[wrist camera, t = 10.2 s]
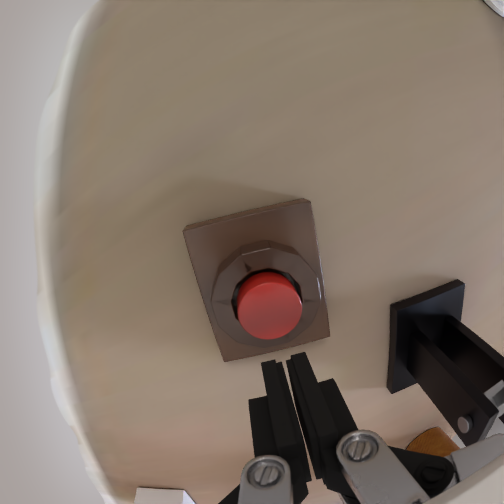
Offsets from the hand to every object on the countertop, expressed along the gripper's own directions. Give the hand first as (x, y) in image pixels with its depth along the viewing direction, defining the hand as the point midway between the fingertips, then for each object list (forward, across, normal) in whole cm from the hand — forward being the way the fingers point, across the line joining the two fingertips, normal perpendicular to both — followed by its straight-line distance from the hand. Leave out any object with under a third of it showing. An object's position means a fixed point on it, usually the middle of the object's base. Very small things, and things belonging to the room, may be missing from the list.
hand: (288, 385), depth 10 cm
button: (+8, 0, 0) cm, 8 cm away
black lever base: (+11, -14, +10) cm, 20 cm away
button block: (+11, 0, 0) cm, 11 cm away
